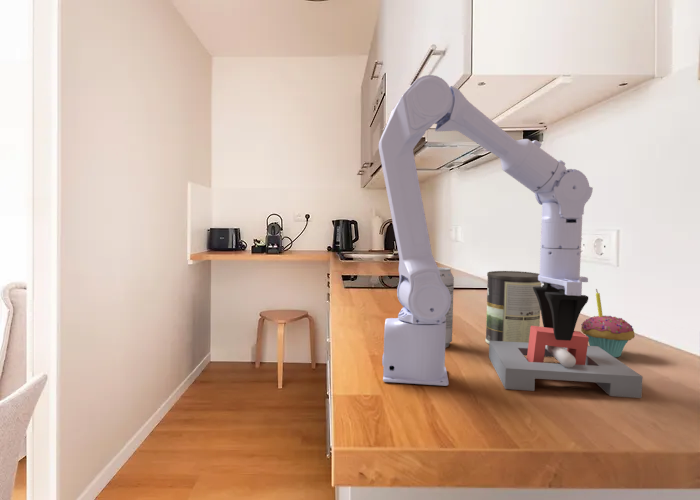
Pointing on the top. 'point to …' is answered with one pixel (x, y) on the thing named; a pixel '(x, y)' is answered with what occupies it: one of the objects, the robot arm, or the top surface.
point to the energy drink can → (449, 283)
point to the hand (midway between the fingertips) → (556, 334)
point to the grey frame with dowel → (563, 369)
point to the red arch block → (555, 344)
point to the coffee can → (511, 306)
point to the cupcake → (607, 331)
